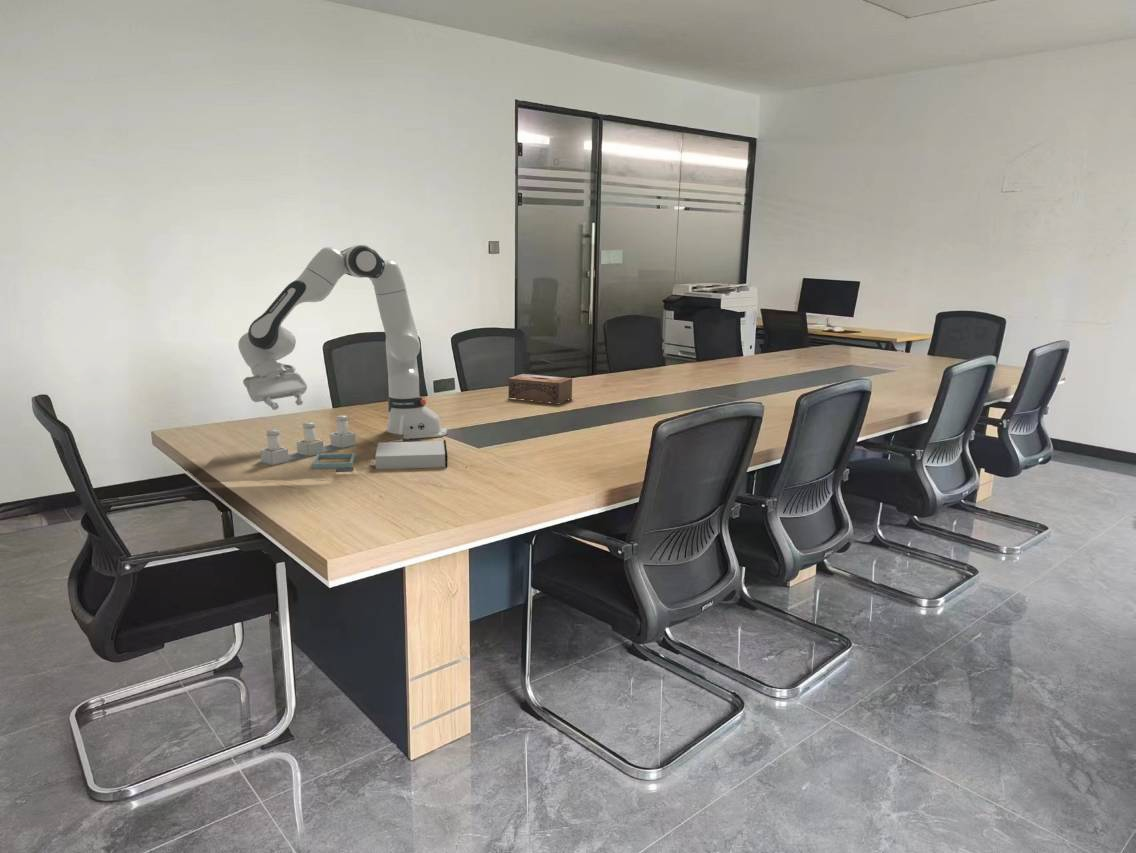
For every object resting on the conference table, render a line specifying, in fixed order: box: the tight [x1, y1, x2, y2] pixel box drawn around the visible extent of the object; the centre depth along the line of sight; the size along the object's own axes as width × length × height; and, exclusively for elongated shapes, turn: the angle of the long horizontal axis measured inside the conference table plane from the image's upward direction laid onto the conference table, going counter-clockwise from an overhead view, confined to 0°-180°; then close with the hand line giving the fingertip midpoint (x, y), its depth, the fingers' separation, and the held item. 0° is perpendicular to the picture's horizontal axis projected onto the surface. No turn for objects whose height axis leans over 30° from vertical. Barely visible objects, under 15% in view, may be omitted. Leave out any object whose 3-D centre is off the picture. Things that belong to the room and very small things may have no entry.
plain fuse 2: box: [335, 414, 349, 436], centre depth 268 cm, size 4×4×10 cm
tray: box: [311, 452, 356, 473], centre depth 247 cm, size 12×12×3 cm
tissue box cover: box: [508, 373, 573, 404], centre depth 361 cm, size 26×14×10 cm, turn 66°
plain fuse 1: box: [266, 428, 281, 452], centre depth 246 cm, size 4×4×10 cm
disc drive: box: [374, 439, 449, 470], centre depth 256 cm, size 18×22×5 cm
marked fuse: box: [302, 421, 317, 444], centre depth 257 cm, size 4×4×10 cm
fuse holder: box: [257, 430, 359, 467], centre depth 258 cm, size 7×35×6 cm, turn 145°
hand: (288, 406), depth 261 cm, fingers open, 8 cm apart
